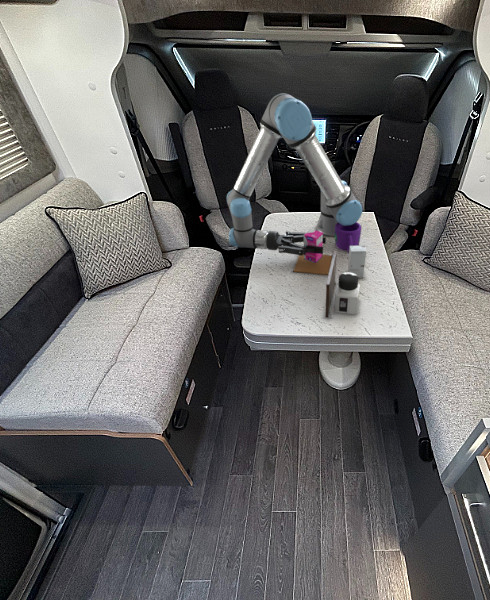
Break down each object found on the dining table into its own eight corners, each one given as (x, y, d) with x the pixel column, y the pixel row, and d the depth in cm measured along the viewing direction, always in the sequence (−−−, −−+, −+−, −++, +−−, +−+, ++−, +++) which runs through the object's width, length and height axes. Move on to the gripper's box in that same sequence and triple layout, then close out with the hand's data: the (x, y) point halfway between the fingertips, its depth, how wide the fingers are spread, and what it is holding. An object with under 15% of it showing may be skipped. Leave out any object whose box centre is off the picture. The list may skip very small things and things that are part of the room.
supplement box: (303, 259, 138) (303, 234, 131) (310, 253, 143) (310, 228, 135) (315, 263, 136) (316, 238, 129) (322, 256, 140) (323, 231, 133)
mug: (333, 240, 157) (333, 220, 151) (357, 239, 158) (359, 219, 151) (336, 260, 144) (337, 239, 137) (363, 259, 144) (365, 238, 138)
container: (356, 314, 117) (359, 284, 109) (334, 312, 118) (335, 281, 110) (358, 300, 123) (361, 270, 115) (337, 298, 124) (338, 268, 116)
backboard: (332, 283, 131) (333, 251, 122) (335, 283, 131) (336, 252, 122) (325, 317, 116) (326, 284, 107) (328, 317, 116) (329, 284, 107)
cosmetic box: (348, 278, 134) (350, 251, 126) (347, 271, 137) (348, 245, 129) (363, 277, 134) (366, 251, 126) (362, 271, 137) (365, 245, 130)
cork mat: (300, 253, 147) (300, 252, 147) (332, 256, 146) (332, 255, 145) (293, 271, 137) (293, 270, 136) (327, 275, 135) (327, 274, 135)
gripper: (274, 236, 147) (327, 241, 145) (261, 261, 132) (320, 267, 130) (273, 220, 143) (327, 225, 140) (260, 244, 127) (320, 249, 125)
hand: (324, 245), depth 135 cm, fingers closed on supplement box, 7 cm apart
